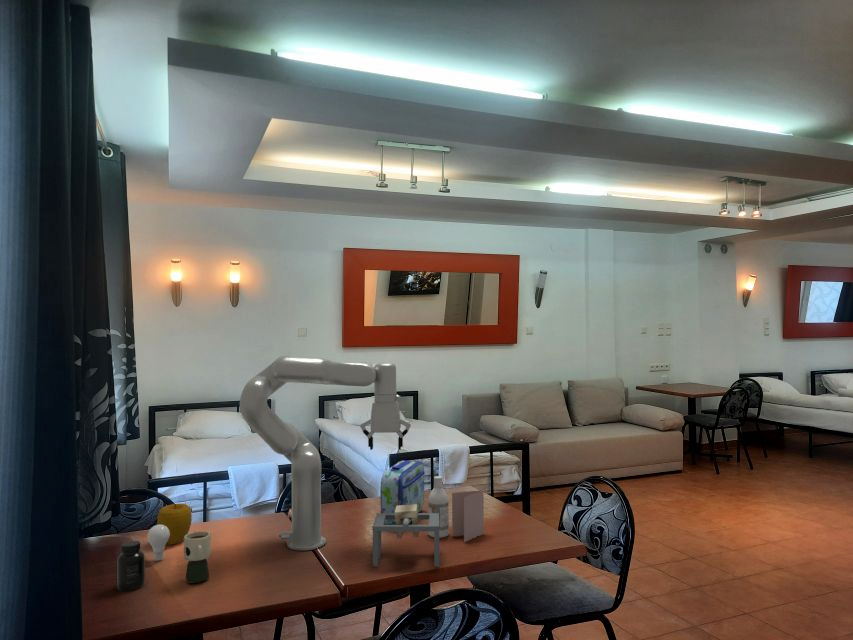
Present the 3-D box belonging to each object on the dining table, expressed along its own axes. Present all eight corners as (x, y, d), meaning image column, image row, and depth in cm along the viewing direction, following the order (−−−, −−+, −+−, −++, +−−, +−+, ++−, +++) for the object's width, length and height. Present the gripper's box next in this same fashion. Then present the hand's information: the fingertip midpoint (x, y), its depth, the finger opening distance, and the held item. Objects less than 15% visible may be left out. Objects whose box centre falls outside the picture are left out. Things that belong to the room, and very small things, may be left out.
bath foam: (426, 532, 211) (425, 475, 211) (444, 530, 213) (444, 473, 213) (432, 539, 204) (431, 480, 205) (451, 537, 206) (450, 478, 207)
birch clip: (396, 538, 184) (394, 512, 184) (398, 530, 191) (396, 505, 191) (418, 536, 184) (416, 510, 184) (419, 529, 191) (417, 504, 191)
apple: (184, 548, 197) (184, 508, 197) (150, 548, 197) (151, 509, 197) (196, 536, 208) (196, 499, 208) (165, 537, 208) (165, 499, 208)
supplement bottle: (148, 581, 171) (148, 539, 171) (138, 591, 164) (138, 547, 165) (124, 581, 171) (124, 539, 171) (112, 592, 164) (112, 548, 164)
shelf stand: (372, 566, 181) (372, 521, 181) (376, 550, 194) (376, 508, 194) (439, 566, 181) (439, 521, 181) (438, 550, 194) (438, 508, 194)
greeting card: (482, 532, 211) (482, 489, 211) (490, 539, 203) (490, 495, 204) (451, 535, 208) (451, 492, 208) (458, 543, 200) (458, 497, 201)
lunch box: (405, 531, 213) (404, 471, 213) (377, 528, 216) (376, 469, 216) (427, 510, 237) (427, 456, 238) (402, 507, 241) (402, 455, 241)
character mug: (181, 576, 175) (181, 531, 175) (207, 571, 178) (207, 527, 178) (186, 590, 165) (186, 542, 165) (213, 585, 168) (213, 538, 169)
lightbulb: (148, 558, 188) (148, 523, 189) (170, 555, 191) (170, 520, 191) (146, 565, 183) (146, 529, 183) (169, 562, 185) (169, 526, 185)
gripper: (410, 397, 210) (411, 446, 210) (361, 397, 210) (361, 447, 210) (410, 400, 203) (410, 451, 202) (358, 400, 203) (359, 451, 203)
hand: (385, 449), depth 206 cm, fingers open, 9 cm apart
